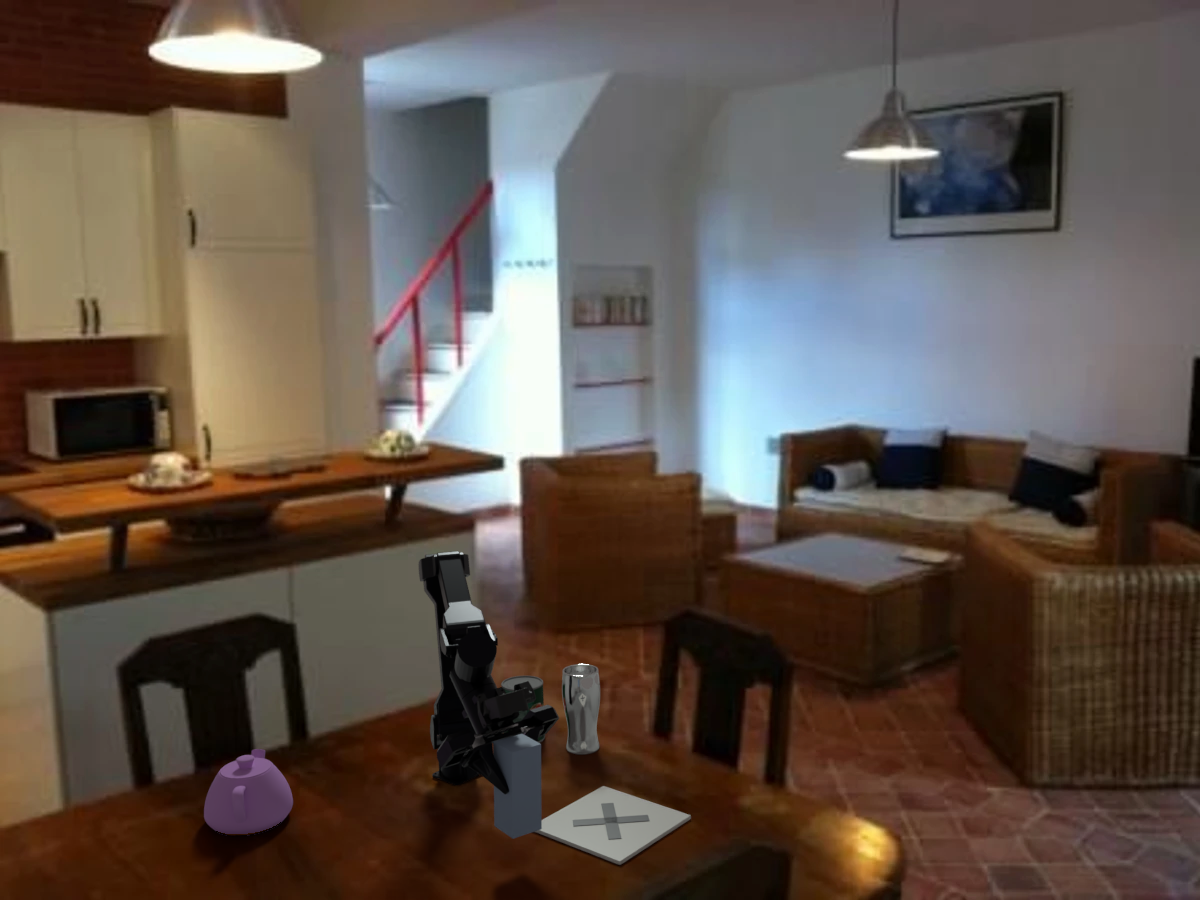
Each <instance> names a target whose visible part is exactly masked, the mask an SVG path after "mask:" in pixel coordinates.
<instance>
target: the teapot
mask: <svg viewBox="0 0 1200 900" xmlns="http://www.w3.org/2000/svg"><path fill="white" fill-rule="evenodd" d="M293 805H294V798H293V794H292V789H291V788H290V784H289V783H288V781H287V779H286V777H285V776H284V775H283V773H282V772H281V771H280V770H279V768H278V767H277V766H276V765H275V764H274V763H273V762H272V761H271V760H270V759H267V758H266V750H265V749H260V748H255V749H251V753H250V754H244V755H241V756H238V757H237V758H235V760H233V761H231V762H229V763H227V764H225V765H224V766H223V767H221V768H220V770H219V771H218V772H217V773H216V775H215V776H214V779H213V781H212V782H211V784H210V786H209V789H208V792H207V793H206V797H205V801H204V808H203V818H204V821H205V822H206V824H207V825H208V826H209V827H210V828H211V829H212V830H214V831H215V832H216V831H218V832H221V833H225V834H248V833H255V832H260V831H263V830H266V829H269V828H272V827H273V826H276V825H277V824H279V823H280V822H281V823H282V822H283V821H284V820H285V819H287V817H288V815H289V814H290V812H291V811H292V808H293ZM281 823H280V824H281ZM280 824H279V825H280ZM277 826H278V825H277ZM277 826H276V827H277ZM272 829H273V828H272ZM218 832H217V833H218Z"/></svg>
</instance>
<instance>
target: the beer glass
mask: <svg viewBox="0 0 1200 900" xmlns="http://www.w3.org/2000/svg"><path fill="white" fill-rule="evenodd" d="M561 677H562V679H561V681H562V682H561V695H562V705H563V710H564V715H565V719H566V724H567V738H566V739H567V740H566V746H565V748H566V750H567V752H568V753H570V754H573V755H574V754H575V755H589V754H590V755H591V754H594V753H596V752H597V751H598V750H599V749H600V742H599V738H598V731H597V730H598V729H597V727H598V726H597V725H598V719H599V718H598V717H599V712H600V711H599V710H600V704H601V703H600V702H601V683H600V675H599V668H598V666H596V665H592V664H588V663H587V664H586V663H578V664H577V663H576V664H571V665H567V666H565V667H564V668H563V669H562V676H561Z"/></svg>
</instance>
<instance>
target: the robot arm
mask: <svg viewBox="0 0 1200 900" xmlns="http://www.w3.org/2000/svg"><path fill="white" fill-rule="evenodd" d="M469 576H471V568H470V558H469V554H466V553H464V552H462V551H458V550H453V551H444V552H443V551H442V552H441V551H440V552H436V553H428V554H425V555H424V557H423V558H420V559H419V560H418V577H419V581H420V582H423V591H424V593H425V594H426V595H427V597H428V598H429V599H430V601H431V602H432V604H433V605H434V617H435V628H436V641H437V650H438V651H437V652H438V663H439V665H438V666H439V673H440V675H439V676H440V684H441V685H440V686H441V689H440V691H439V694H438V695H437V697H436V699H435V702H434V703H433V712H434V714H431V715H430V716H431V717H430V724H429V734H430V742H431V744H432V748H433V750H437V751H436V759H437V762H438V771H435V772H433V773H432V774H431V776H432V777H433V778H435V779H436V780H437V779H438V780H439V781H443V782H445V783H448V784H450V785H454V786H460V785H462V784H464V783H466V782H468V781H470V780H473V779H474V778H476V777H478V776H482V777H483V778H484V779H486V781H488V782H489V783H491V784H492V786H493V787H494V786H495V787H496V788H498V789H499V790H500V791H501V792H502V793H504V794H507V793H508V792H509V788H508V785H507V782H506V780H505V778H504V776H503V774H502V772H501V770H500V768H499V766H498V764H497V762H496V760H495V758H494V755H493V742H494V741H497V740H501V739H504V738H508V737H512V736H515V735H519V734H524V735H526V736H527V737H529V738H531V739H533V740H534V741H536V742H538V737H541V736H543V735H545V736H546V735H547V734H548V733H549V731H550V730H551V729H552V728H553V727H554V725H555V724H556V723H557V722H558V721H559V719H560V716H559V715H558V712H557V710H556V709H555V708H554V707H553V706H552V705H549V704H546V705H545V704H544V706H541V707H538V708H535V709H532V710H529V708H528V704H527V703H531V702H534V701H535V699H536V697H535V693H534V690H533V688H532V686H531V685H530V683H529V681H526V682H522V683H519V684H516V685H514V692H510V693H507V694H506V692H505V690H504V689H503V688H502V686H501V687H500V686H499V687H497V684H496V682H495V680H494V677H493V675H492V672H493V668H494V665H495V661H496V657H497V651H498V649H497V648H498V647H497V646H499V643H498V637H497V635H496V633H495V631H494V630H493V629H492V628H491V626H490V624H489V623H486V620H485V617H484V613H483V611H482V610H481V609H480V608H478V607H476V606H475V605H473V602H472V598H471V595H470V589H469V586H468V582H467V578H468V577H469ZM526 710H529V712H528V713H527V714H526V715H525V717H524V718H523V719H522V720H521V721H518V722H515V723H514V722H513V720H514V719H516V718H517V717H518V716H519V715H520V714H519V712H518V711H526ZM507 731H508V732H507ZM505 732H506V733H505Z"/></svg>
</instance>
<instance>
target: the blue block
mask: <svg viewBox="0 0 1200 900" xmlns="http://www.w3.org/2000/svg"><path fill="white" fill-rule="evenodd" d="M492 747H493V755H494V758H495V760H496V762H497V764H498V766H499V768H500V770H501V772H502V774H503V776H504V778H505V780H506V782H507V785H508V788H509V792H508V793H507V794H504V793H502V792H501V791H500V790H499V789H498V788H496V787H495V786H494V785H493V817H494V818H493V820H494V821H493V822H494V827H495V828H497V829H498V830H500V831H501V832H502V833H503V834H505V835H507V836H508V837H510V838H511V839H512V840H513V839H517V838H520V837H522V836H525V835H528V834H531V833H535V832H534V831H537V830H540V829H542V820H543V818H542V814H543V813H542V743H541V742H540V743H538V742H536V741H534V740H533V739H531V738H529V737H527V736H526V735H524V734H519V735H515V736H512V737H508V738H504V739H501V740H497V741H494V742H493V743H492Z"/></svg>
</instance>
